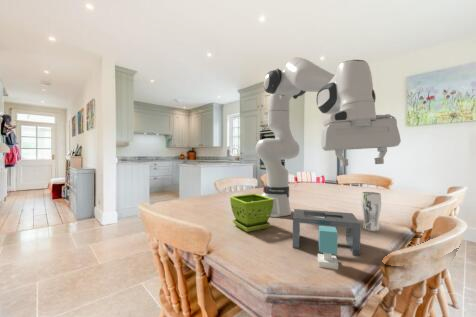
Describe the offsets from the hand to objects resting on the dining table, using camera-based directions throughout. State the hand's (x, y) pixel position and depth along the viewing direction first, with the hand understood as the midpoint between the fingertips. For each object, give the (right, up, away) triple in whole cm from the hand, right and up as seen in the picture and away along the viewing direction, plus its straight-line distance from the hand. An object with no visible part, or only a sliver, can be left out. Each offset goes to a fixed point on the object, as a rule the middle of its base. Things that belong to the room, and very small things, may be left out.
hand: (361, 165), depth 61 cm
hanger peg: (-9, -28, +1) cm, 30 cm away
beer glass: (+21, -28, +30) cm, 46 cm away
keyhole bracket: (-5, -28, +15) cm, 32 cm away
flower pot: (-29, -28, +32) cm, 51 cm away
